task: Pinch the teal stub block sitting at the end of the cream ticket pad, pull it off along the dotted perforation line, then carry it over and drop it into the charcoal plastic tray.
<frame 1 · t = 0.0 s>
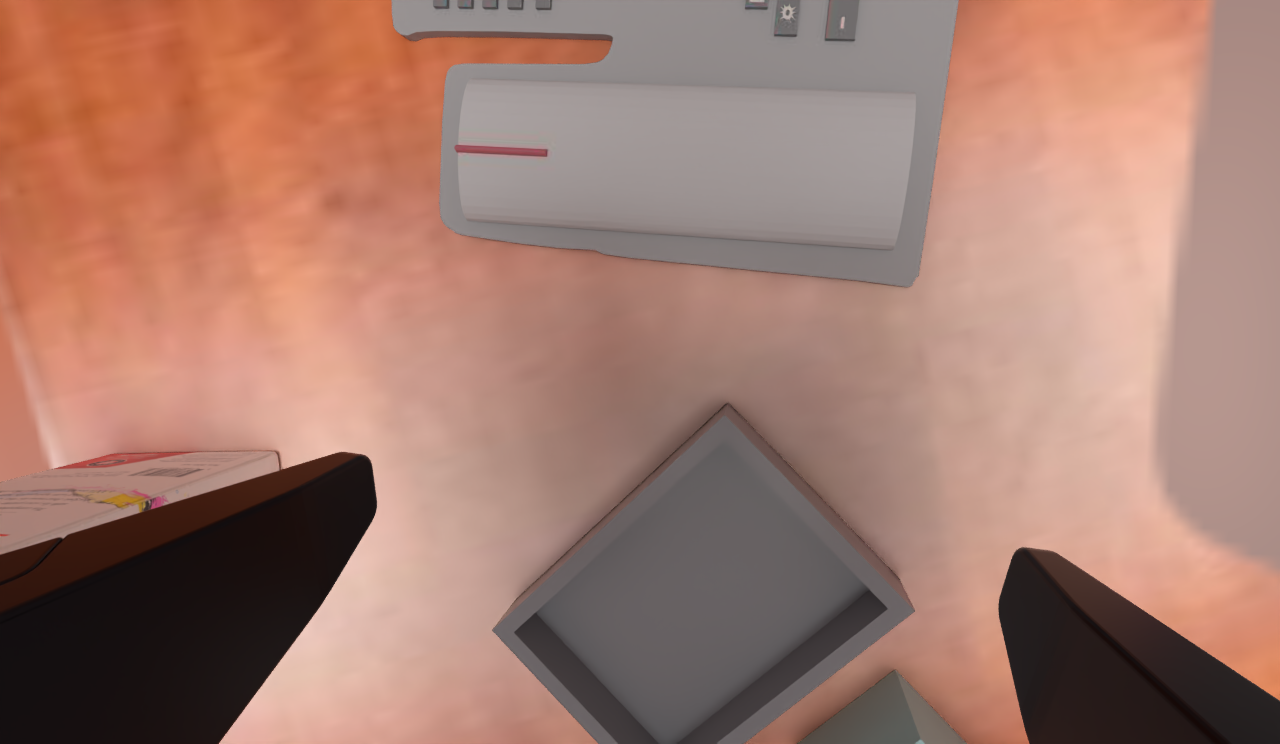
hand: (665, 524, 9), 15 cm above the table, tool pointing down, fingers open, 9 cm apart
ink cartridge box: (208, 502, 29), on the table
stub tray: (696, 589, 25), on the table
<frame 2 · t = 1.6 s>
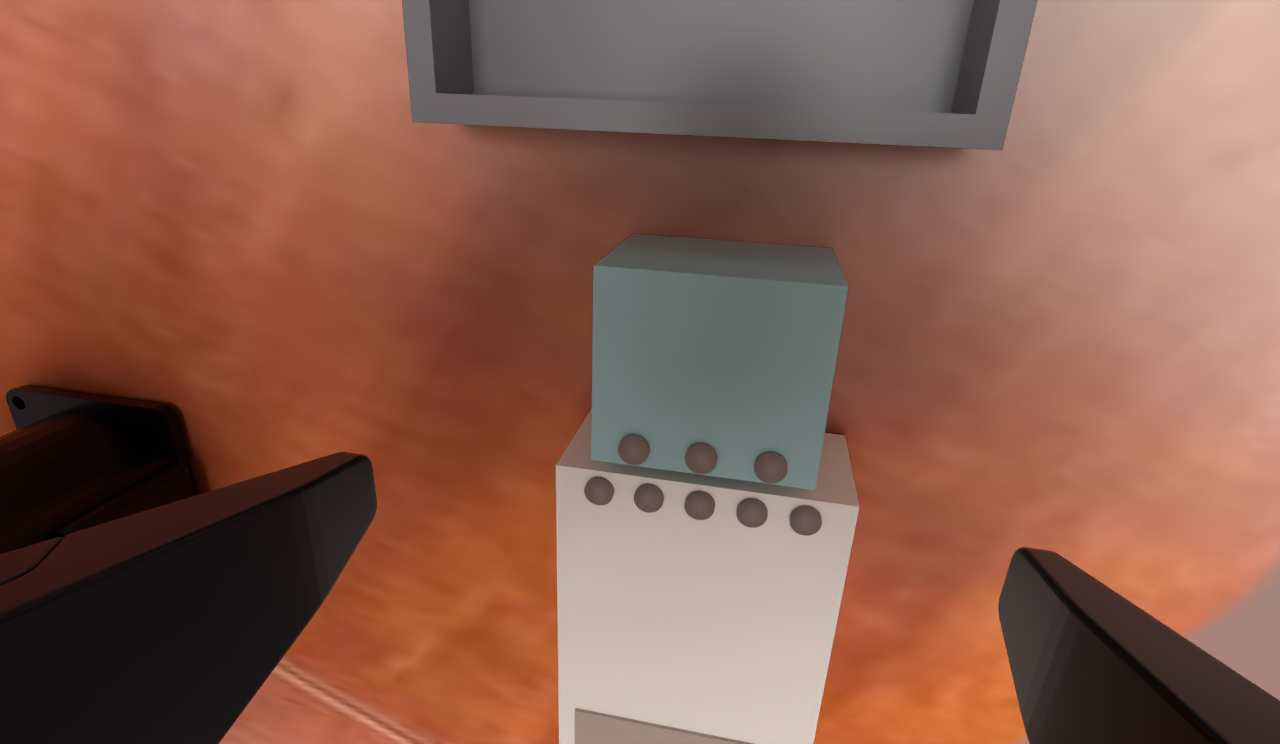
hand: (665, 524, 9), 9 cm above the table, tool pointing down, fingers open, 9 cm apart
stub: (722, 324, 17), on the table
ticket pad: (700, 578, 20), on the table
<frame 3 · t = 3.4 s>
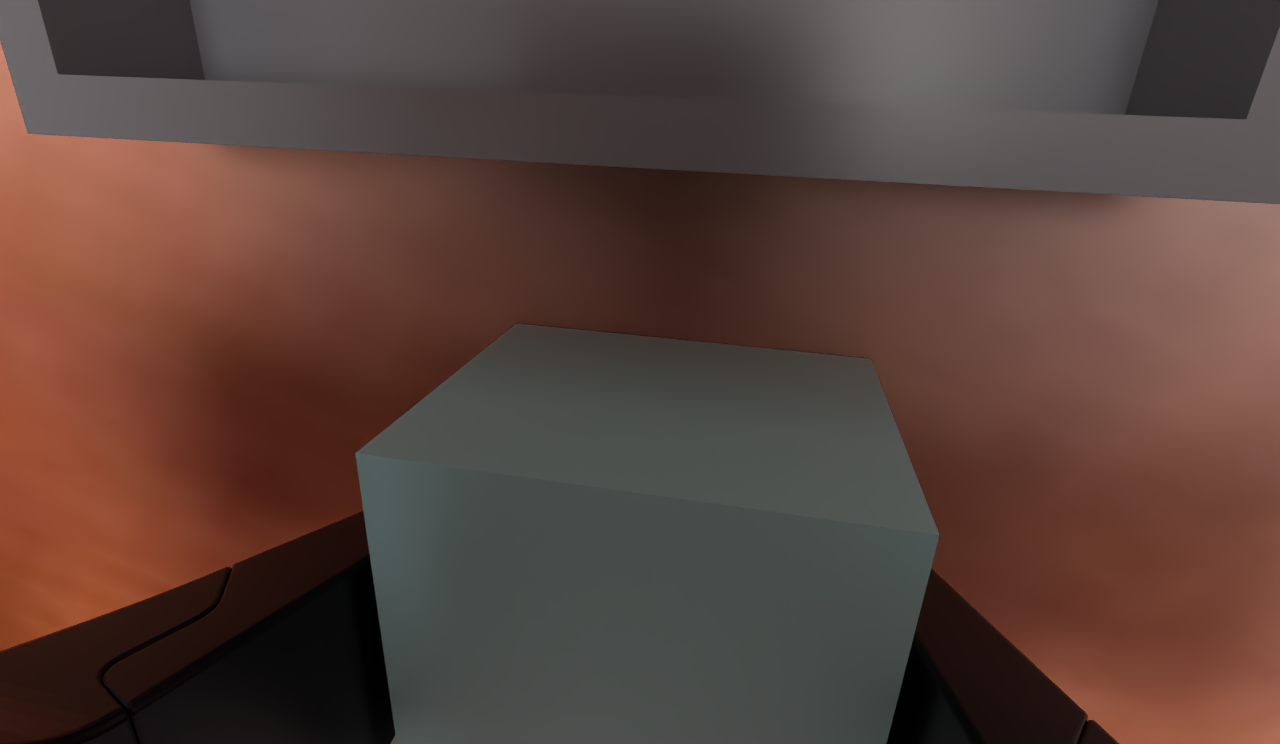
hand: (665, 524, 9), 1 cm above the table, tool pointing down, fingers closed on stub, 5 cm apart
stub: (676, 478, 10), on the table, touching gripper
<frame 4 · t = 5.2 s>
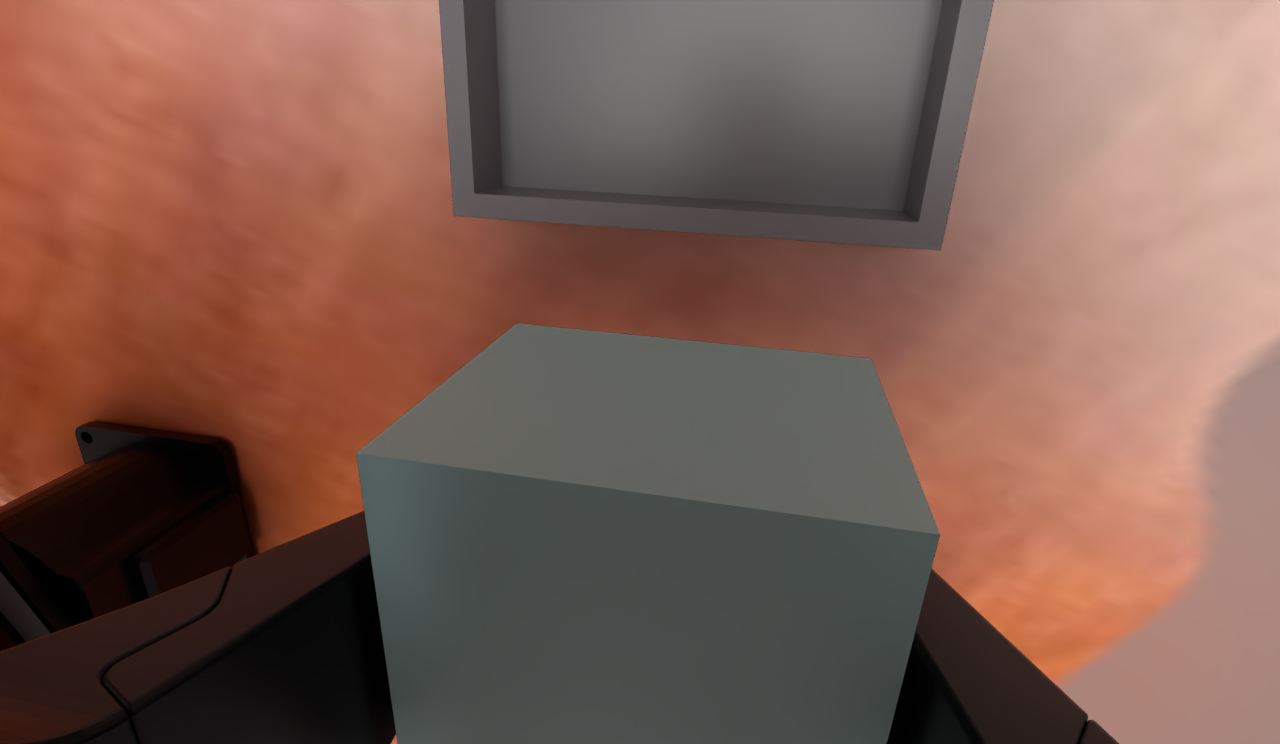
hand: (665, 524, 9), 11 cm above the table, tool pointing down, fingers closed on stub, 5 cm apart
stub: (676, 478, 10), point 10 cm above the table, touching gripper
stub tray: (706, 37, 17), on the table
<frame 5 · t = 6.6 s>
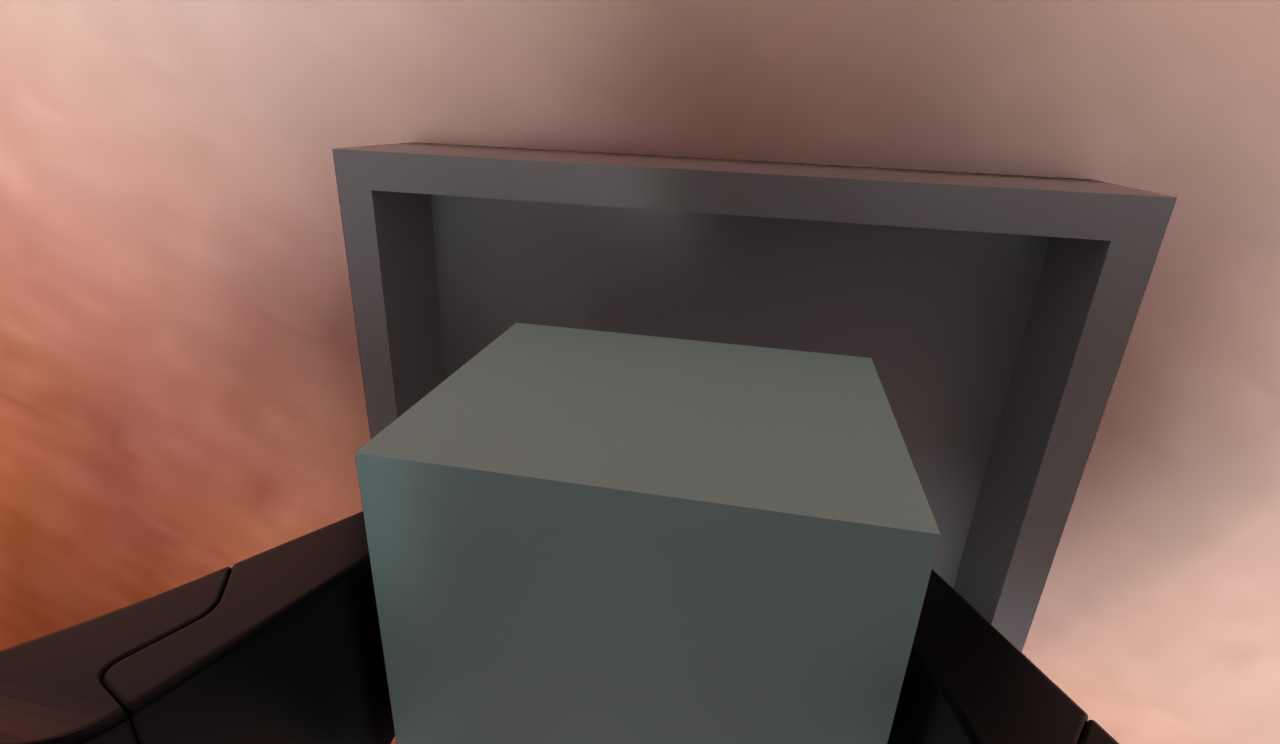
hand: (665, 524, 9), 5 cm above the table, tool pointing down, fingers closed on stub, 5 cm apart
stub: (676, 478, 10), point 4 cm above the table, touching gripper
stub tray: (704, 390, 13), on the table
when the fingers open (4 cm above the table, at t = 7.5 s): stub drops 2 cm, resting on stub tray.
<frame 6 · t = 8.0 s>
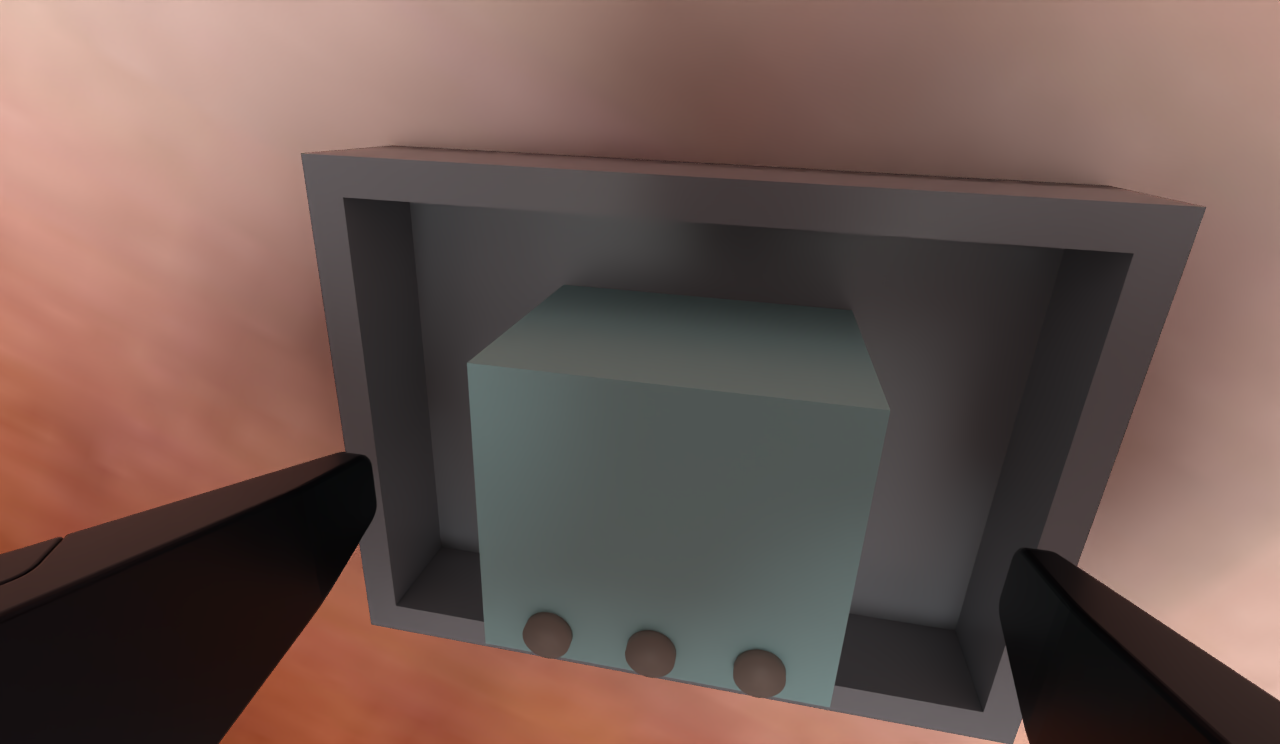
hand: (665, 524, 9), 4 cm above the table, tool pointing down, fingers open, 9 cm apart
stub: (693, 414, 12), point 1 cm above the table, touching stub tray
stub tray: (698, 405, 13), on the table
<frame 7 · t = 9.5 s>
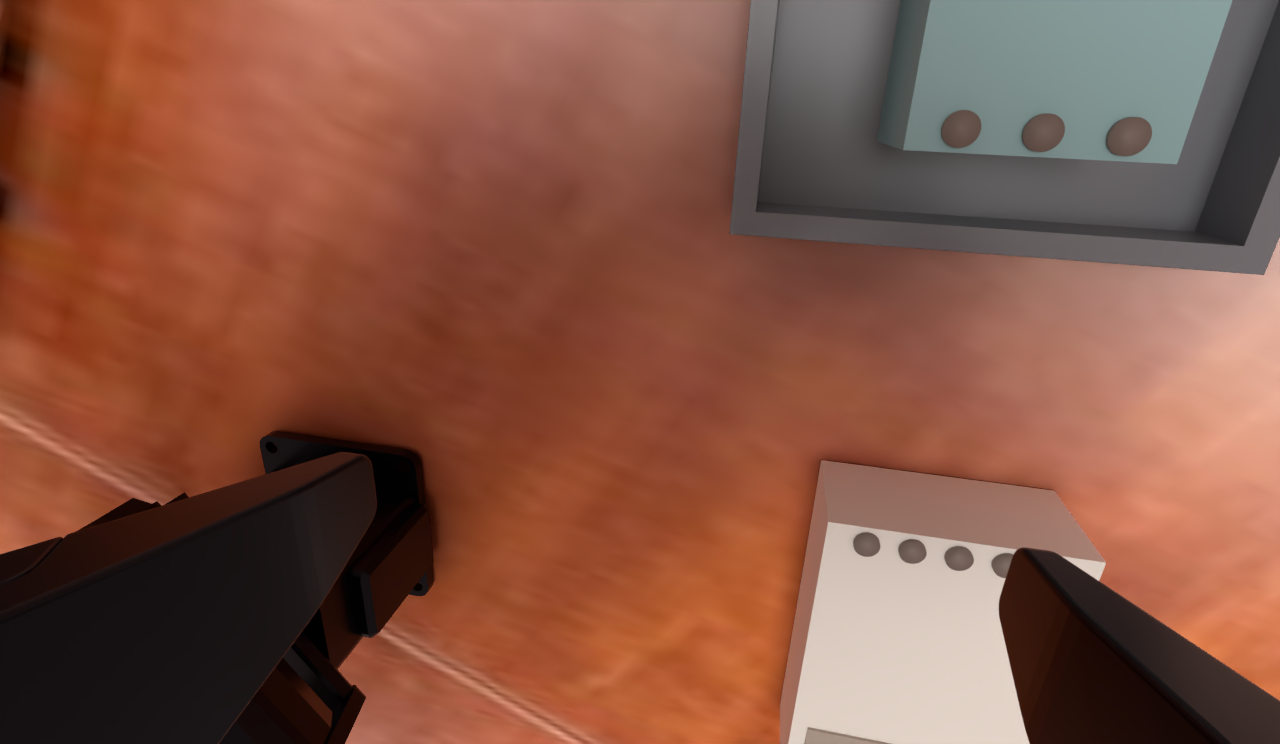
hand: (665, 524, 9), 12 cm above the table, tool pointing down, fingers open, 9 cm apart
stub: (1001, 47, 16), point 1 cm above the table, touching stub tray
ticket pad: (901, 610, 23), on the table
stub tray: (994, 53, 16), on the table
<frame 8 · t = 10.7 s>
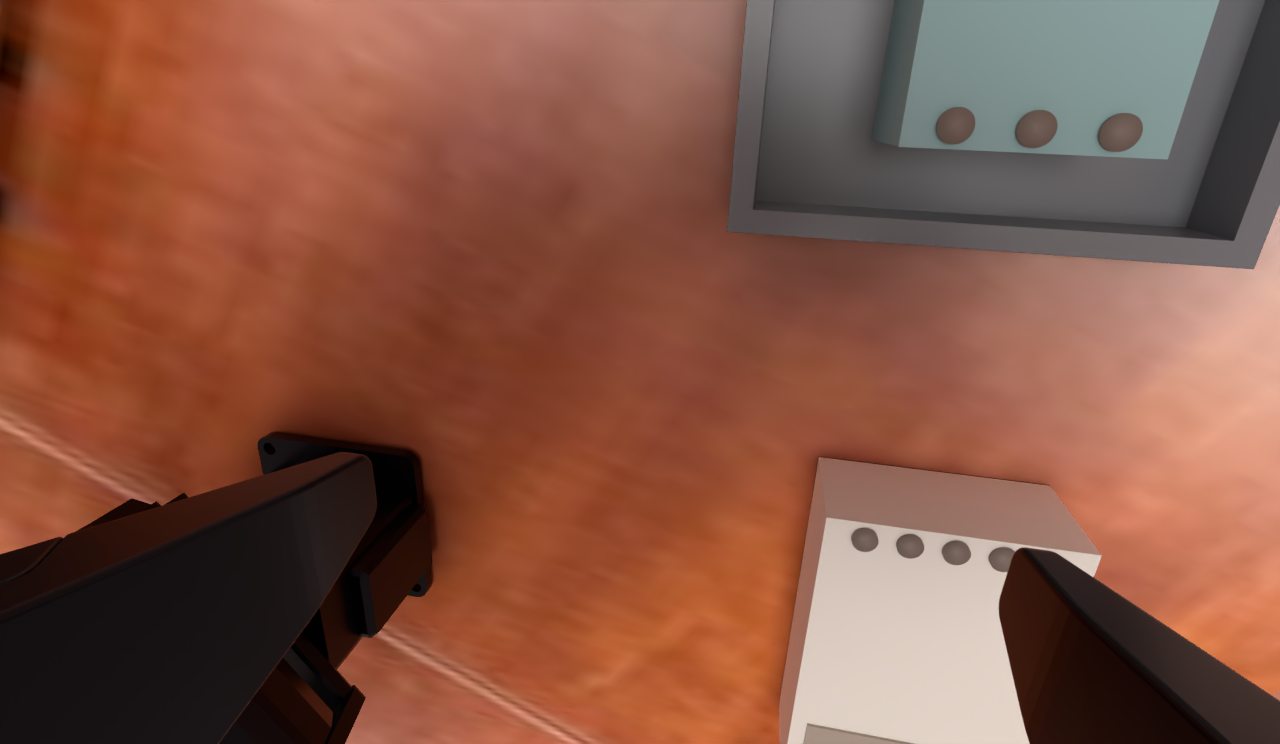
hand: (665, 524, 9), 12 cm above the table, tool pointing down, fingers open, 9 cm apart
stub: (994, 46, 16), point 1 cm above the table, touching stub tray
ticket pad: (898, 607, 23), on the table
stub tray: (987, 52, 16), on the table
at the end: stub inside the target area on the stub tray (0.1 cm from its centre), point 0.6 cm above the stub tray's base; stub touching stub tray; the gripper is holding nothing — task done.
